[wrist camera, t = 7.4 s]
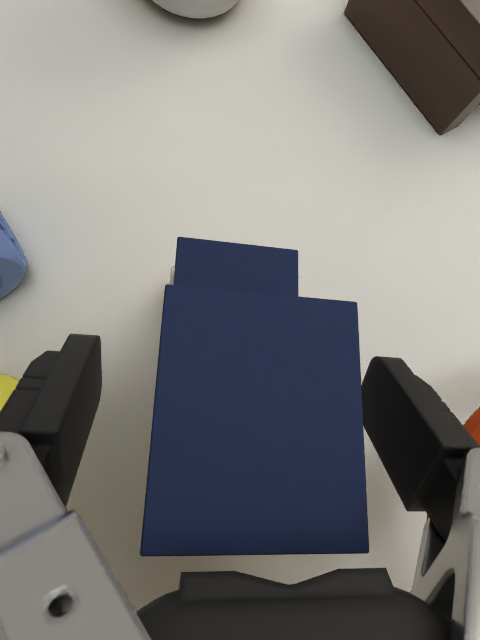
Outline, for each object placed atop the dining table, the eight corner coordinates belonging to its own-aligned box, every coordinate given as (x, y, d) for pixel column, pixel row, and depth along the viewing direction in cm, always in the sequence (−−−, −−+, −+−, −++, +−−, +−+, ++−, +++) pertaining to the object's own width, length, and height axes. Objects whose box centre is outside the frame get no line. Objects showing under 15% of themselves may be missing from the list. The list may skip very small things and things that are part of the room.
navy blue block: (265, 497, 16) (376, 577, 8) (152, 496, 15) (131, 583, 7) (269, 291, 19) (355, 175, 10) (171, 282, 18) (173, 148, 9)
